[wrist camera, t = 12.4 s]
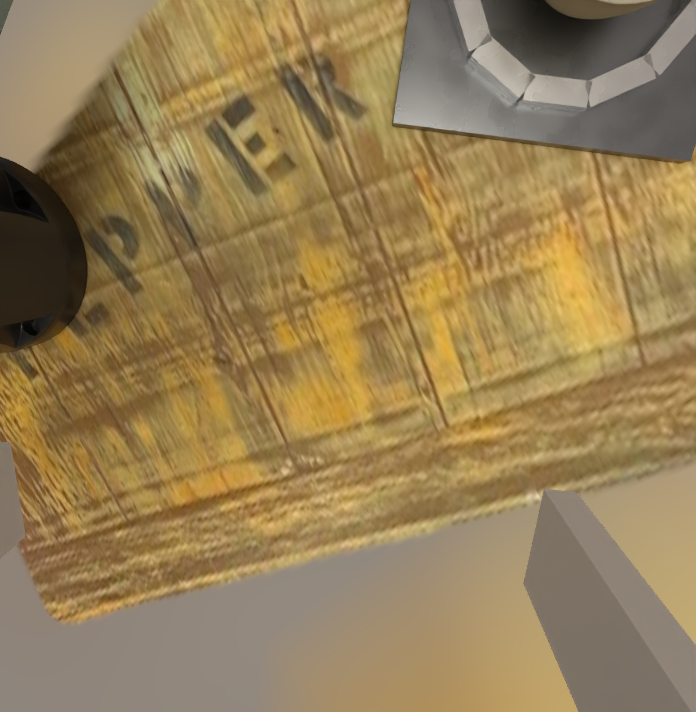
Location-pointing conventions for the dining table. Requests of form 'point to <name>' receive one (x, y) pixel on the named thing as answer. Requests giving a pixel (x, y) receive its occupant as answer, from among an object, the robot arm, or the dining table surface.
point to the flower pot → (597, 7)
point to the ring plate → (553, 76)
